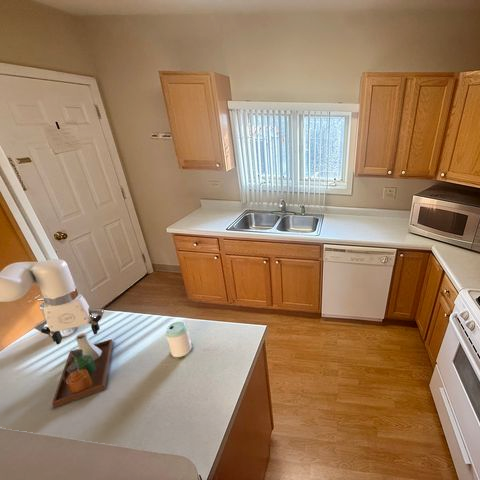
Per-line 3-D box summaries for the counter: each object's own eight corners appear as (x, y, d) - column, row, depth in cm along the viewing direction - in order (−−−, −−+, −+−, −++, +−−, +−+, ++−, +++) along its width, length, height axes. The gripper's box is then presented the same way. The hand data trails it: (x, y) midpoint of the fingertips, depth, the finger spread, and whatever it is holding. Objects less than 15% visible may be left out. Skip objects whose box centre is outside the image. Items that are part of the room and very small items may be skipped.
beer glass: (66, 339, 101) (51, 309, 95) (48, 338, 101) (32, 308, 95) (81, 326, 107) (68, 297, 101) (65, 325, 107) (51, 296, 101)
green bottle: (74, 381, 84) (64, 361, 80) (78, 369, 88) (68, 349, 84) (94, 374, 87) (85, 354, 83) (97, 363, 91) (88, 344, 87)
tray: (105, 389, 83) (103, 384, 82) (54, 407, 77) (51, 403, 76) (113, 342, 100) (111, 339, 99) (72, 355, 94) (70, 351, 93)
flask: (101, 345, 98) (92, 325, 94) (104, 357, 93) (95, 336, 89) (76, 356, 93) (66, 335, 89) (77, 369, 88) (67, 347, 84)
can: (174, 361, 93) (167, 337, 89) (169, 349, 98) (162, 325, 93) (194, 351, 98) (189, 327, 93) (188, 340, 102) (183, 317, 98)
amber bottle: (69, 397, 79) (58, 377, 75) (73, 384, 83) (63, 364, 79) (91, 390, 82) (81, 369, 78) (94, 377, 86) (84, 357, 82)
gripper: (18, 310, 75) (40, 353, 81) (94, 295, 83) (108, 335, 90) (28, 297, 81) (47, 338, 87) (98, 284, 89) (111, 322, 96)
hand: (78, 336), depth 89 cm, fingers open, 9 cm apart
